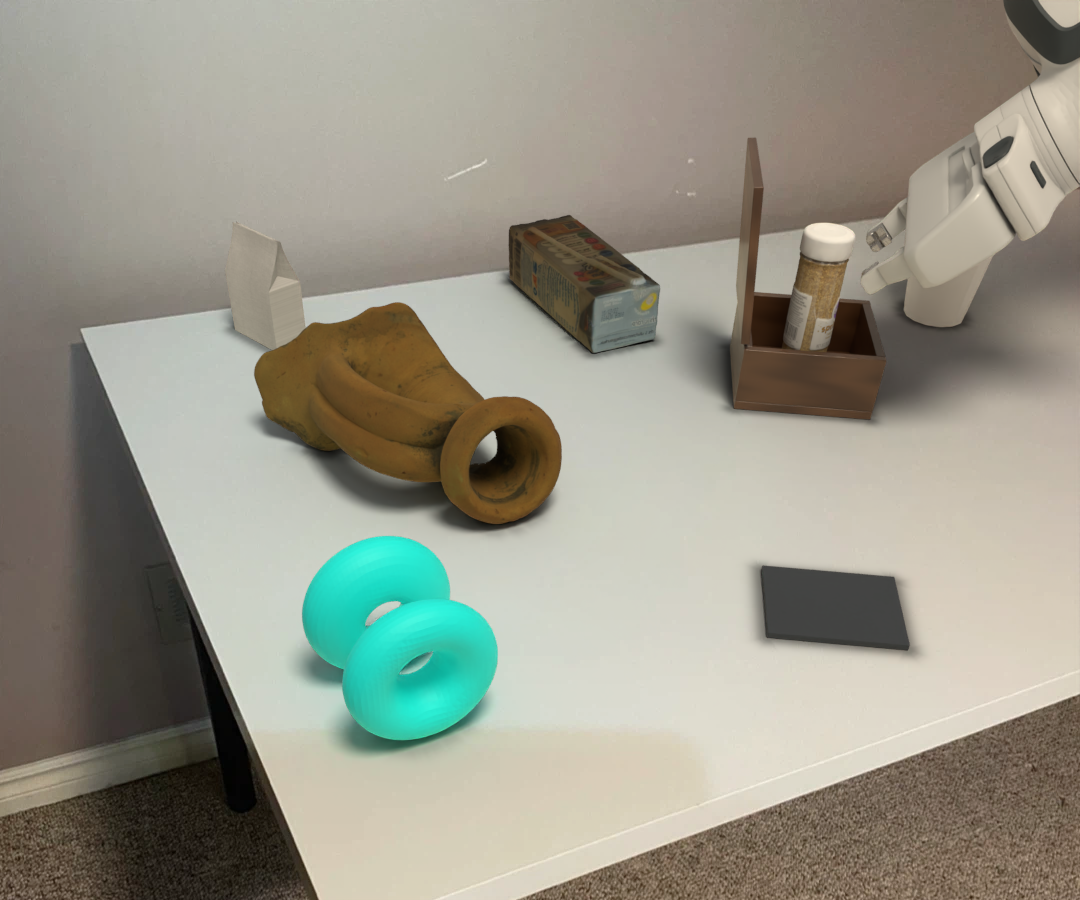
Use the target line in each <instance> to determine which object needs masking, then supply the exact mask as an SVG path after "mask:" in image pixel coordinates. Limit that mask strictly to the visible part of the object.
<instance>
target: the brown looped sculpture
mask: <svg viewBox="0 0 1080 900" xmlns="http://www.w3.org/2000/svg"><path fill="white" fill-rule="evenodd" d="M255 363H256V364H255V365H254V369H253V377H254V380H255V384H256V386H257V389H258V392H259V395H260V398H261V400H262V401H261V405H262V409H263V411H264V415H265V416H266V418H267V419H268V420H269V421H271V422H273V423H275V424H277V425H278V426H281V428H283V429H285V430H287V431H289V432H291V433H294V434H295V435H297V437H298V438H300V440H301V441H302V442H303V443H305V444H307V445H308V446H310V447H312V448H314V449H317V450H319V451H325V452H330V451H331V452H332V451H336V450H337V451H338V450H340V449H341V450H342V451H343V452H345V454H346V455H348V456H349V457H350V458H352V459H353V460H354V461H355V462H358V463H359V464H360V465H362V466H364V467H365V468H367V469H369V470H371V471H374V472H376V473H379V474H381V475H385V476H387V477H391V478H394V479H399V480H402V481H407V482H412V483H413V482H414V483H436V482H437V483H439V482H441V485H442V489H443V491H444V494H445V496H446V497H447V498H448V500H449V501H450V503H452V504H453V505H454V506H456V507H457V508H458V509H459V510H460V511H461V512H463V513H464V514H465V515H467V516H469V517H470V518H472V519H475V520H476V521H479V522H483V523H485V524H490V525H491V524H492V525H501V524H506V523H508V522H515V521H518V520H520V519H523V518H524V517H527V516H529V514H531V513H532V512H533V511H535V510H536V509H538V508H539V507H540V506H541V505H543V504H544V502H545V501H546V500H547V498H549V496H550V495H551V493H552V492H553V491H554V489H555V487H556V485H557V482H558V480H559V477H560V473H561V469H562V460H563V449H562V440H561V436H560V433H559V432H558V430H557V428H556V426H555V423H554V421H553V420H552V419H551V417H550V416H549V415H548V413H547V412H546V411H544V409H543V408H542V407H540V406H539V405H537V404H535V403H534V402H533V401H531V400H529V399H526V398H524V397H522V396H521V397H520V396H507V395H506V396H505V395H504V396H492V397H488V398H484V397H483V395H482V394H481V393H479V392H478V391H477V390H476V389H475V388H474V386H472V384H471V383H470V382H469V381H468V380H467V379H466V378H465V377H464V376H463V375H461V374H460V373H459V371H458V370H456V369H455V368H454V366H453V365H452V364H451V363H450V361H449V360H448V358H447V357H446V355H445V354H444V352H443V350H442V349H441V348H440V347H439V344H438V343H437V342H436V341H435V339H434V338H433V337H432V335H431V333H430V332H429V330H428V329H427V327H426V325H424V323H423V321H422V320H421V319H420V317H419V315H418V314H417V313H416V311H415V310H414V309H413V308H412V307H411V306H409V305H408V304H406V303H404V302H400V301H398V302H397V301H396V302H391V303H388V304H385V305H381V306H371V307H369V308H368V307H367V309H365V310H364V311H362V312H360V313H359V314H358V315H355V316H354V317H351V318H348V319H345V320H341V321H337V322H330V323H328V322H327V323H325V322H324V323H323V322H318V321H317V322H316V321H314V322H311V323H310V324H308V326H306V328H305V329H304V330H303V331H302V332H301V333H300V334H299V335H298V336H297V337H296V338H294V339H293V340H292V341H290V342H288V343H287V344H285V345H282V346H280V347H278V348H276V349H274V350H271V349H270V350H268V351H265V352H264V353H263V354H262V355H261V356H260V357H259V359H258V360H257V361H256V362H255ZM492 432H493V433H494V434H495V440H496V452H495V455H494V456H493V457H492V458H491V459H490V460H488V461H486V462H480V463H477V462H475V463H471V462H472V459H473V456H474V454H475V452H476V450H477V448H478V446H480V444H481V442H482V441H483V440H484V439H485V438H486V437H487V436H489V435H490V434H491V433H492Z"/></svg>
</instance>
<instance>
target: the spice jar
mask: <svg viewBox="0 0 1080 900" xmlns="http://www.w3.org/2000/svg"><path fill="white" fill-rule="evenodd" d="M855 242H856V234H855V232H854V231H853V230H852V229H850V228H849V227H847V226H845V225H841V224H837V223H832V222H815V223H811V224H808V225H807V226H805V228H804V229H803V231H802V236H801V239H800V245H799V251H800V252H799V260H798V264H797V270H796V274H795V278H794V279H795V280H794V283H793V285H792V291H791V294H790V295H791V300H790V305H789V310H788V315H787V320H786V325H785V330H784V335H783V344H782V349H790V350H803V351H816V352H827V349H828V345H829V343H830V339H831V335H832V330H833V326H834V321H835V317H836V312H837V308H838V304H839V300H840V298H841V292H842V287H843V284H844V279H845V274H846V271H847V266H848V262H849V261H850V258H851V257H852V255H853V251H854V248H855V247H854V246H855Z"/></svg>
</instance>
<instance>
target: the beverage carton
mask: <svg viewBox="0 0 1080 900" xmlns="http://www.w3.org/2000/svg"><path fill="white" fill-rule="evenodd" d="M508 272H509V280H510V281H512V282H513V284H515V286H517V287H518V288H519V289H520V290H521V291H522V292H524V293H525V294H526V295H527V296H528V297H529V298H530V299H531V300H532V301H534V302H535V303H536V304H537V305H538V306H539V307H540V308H542V310H543V311H545V312H546V313H547V314H548V315H549V316H550V317H551V318H553V319H554V320H555V321H556V322H557V323H558V324H559V325H560V326H561V327H562V328H564V329H565V331H566V332H568V333H569V334H570V335H571V336H573V337H574V338H575V339H576V340H577V341H578V342H580V343H581V344H582V345H583V346H584V347H585V348H587V349H588V351H590V352H591V353H592V354H595V353H601V352H604V351H609V350H614V349H618V348H622V347H626V346H630V345H635V344H638V343H642V342H643V343H644V342H648V341H651V340H655V338H656V334H657V326H658V316H659V302H660V293H661V286H660V285H661V284H659V283H658V282H657V281H655V280H654V279H653V278H652V277H651V276H650V275H648V274H646V273H645V272H644V271H643V270H642V269H640V267H638V266H637V265H636V264H635V263H634V262H632V261H631V260H630V259H629V258H627V257H626V256H624V255H623V254H622V253H621V252H619V251H618V250H617V249H616V248H615V247H613V246H611V244H609V243H608V242H607V241H605V240H604V239H603V238H601V237H600V236H599V235H598V234H596V233H595V232H593V231H592V230H591V229H590V228H589V227H588V226H586V225H584V224H583V223H582V222H581V221H579V220H578V219H576V218H574V217H573V215H571V214H567V215H562V216H559V217H553V218H549V219H545V218H544V219H539V220H535V221H531V222H527V223H519V224H512V225H510V226H509V229H508Z"/></svg>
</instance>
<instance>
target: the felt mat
mask: <svg viewBox="0 0 1080 900" xmlns="http://www.w3.org/2000/svg"><path fill="white" fill-rule="evenodd" d="M760 570H761V571H760V573H761V585H762V596H763V597H762V598H763V607H764V608H763V609H764V620H765V632H766V638H768V639H778V640H790V641H800V642H801V641H802V642H813V643H823V644H834V645H844V646H855V647H856V646H858V647H866V648H879V649H889V650H890V649H891V650H901V651H908V650H909V649H910V646H911V644H910V639H909V636H908V631H907V626H906V622H905V617H904V614H903V609H902V605H901V600H900V596H899V591H898V587H897V584H896V578H895V576H890V575H877V574H868V573H867V574H866V573H856V572H855V573H854V572H843V571H832V570H821V569H820V570H819V569H808V568H797V567H785V566H774V565H764V564H763V565H762V566H761V569H760Z"/></svg>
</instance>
